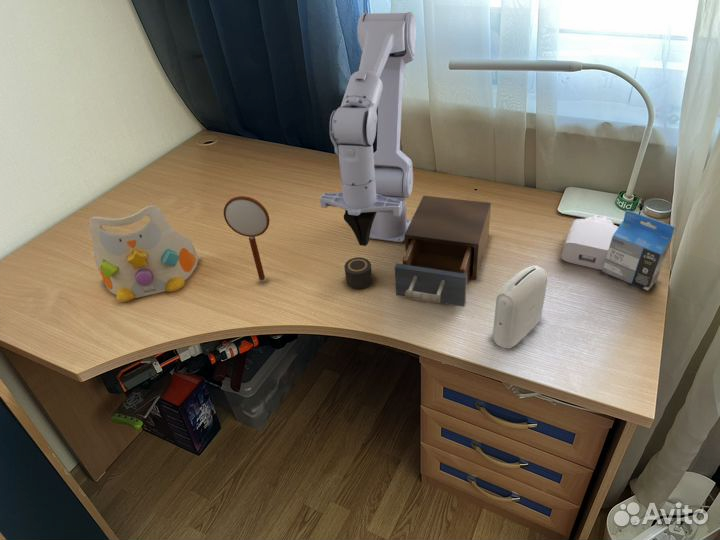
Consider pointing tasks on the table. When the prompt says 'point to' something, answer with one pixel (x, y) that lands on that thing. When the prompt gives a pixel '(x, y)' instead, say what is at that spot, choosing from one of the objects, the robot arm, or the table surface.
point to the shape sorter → (142, 255)
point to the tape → (358, 273)
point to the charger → (589, 241)
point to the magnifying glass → (248, 223)
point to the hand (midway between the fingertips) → (364, 242)
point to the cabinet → (452, 225)
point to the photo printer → (519, 306)
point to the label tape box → (638, 250)
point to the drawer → (434, 272)
